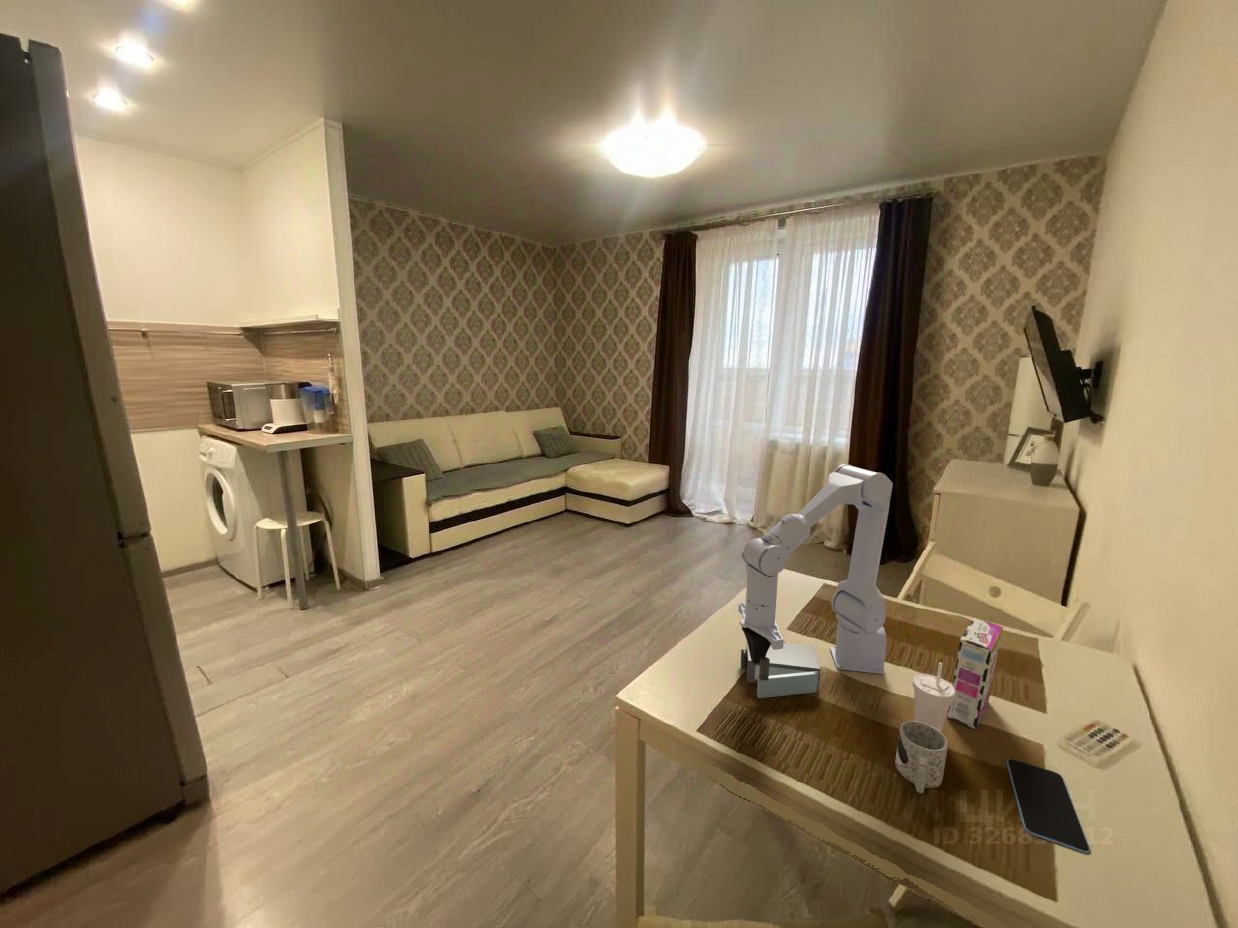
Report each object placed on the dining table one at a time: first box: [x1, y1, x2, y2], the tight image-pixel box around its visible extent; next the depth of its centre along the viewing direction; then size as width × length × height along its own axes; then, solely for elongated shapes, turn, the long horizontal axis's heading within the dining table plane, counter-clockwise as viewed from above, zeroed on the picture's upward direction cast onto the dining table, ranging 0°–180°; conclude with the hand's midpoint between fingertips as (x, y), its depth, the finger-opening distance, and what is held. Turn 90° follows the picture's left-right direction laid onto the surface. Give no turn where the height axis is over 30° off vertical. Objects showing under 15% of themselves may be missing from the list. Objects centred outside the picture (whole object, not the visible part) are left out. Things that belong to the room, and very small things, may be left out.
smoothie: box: [911, 662, 955, 733], centre depth 88 cm, size 6×6×14 cm
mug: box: [895, 720, 949, 794], centre depth 79 cm, size 10×7×7 cm
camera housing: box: [740, 642, 821, 692], centre depth 105 cm, size 15×8×5 cm, turn 78°
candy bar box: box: [946, 617, 1004, 730], centre depth 93 cm, size 11×5×16 cm, turn 135°
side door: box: [756, 657, 818, 699], centre depth 98 cm, size 12×2×8 cm, turn 98°
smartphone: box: [1006, 758, 1091, 854], centre depth 75 cm, size 7×1×15 cm
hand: (757, 661), depth 100 cm, fingers closed
